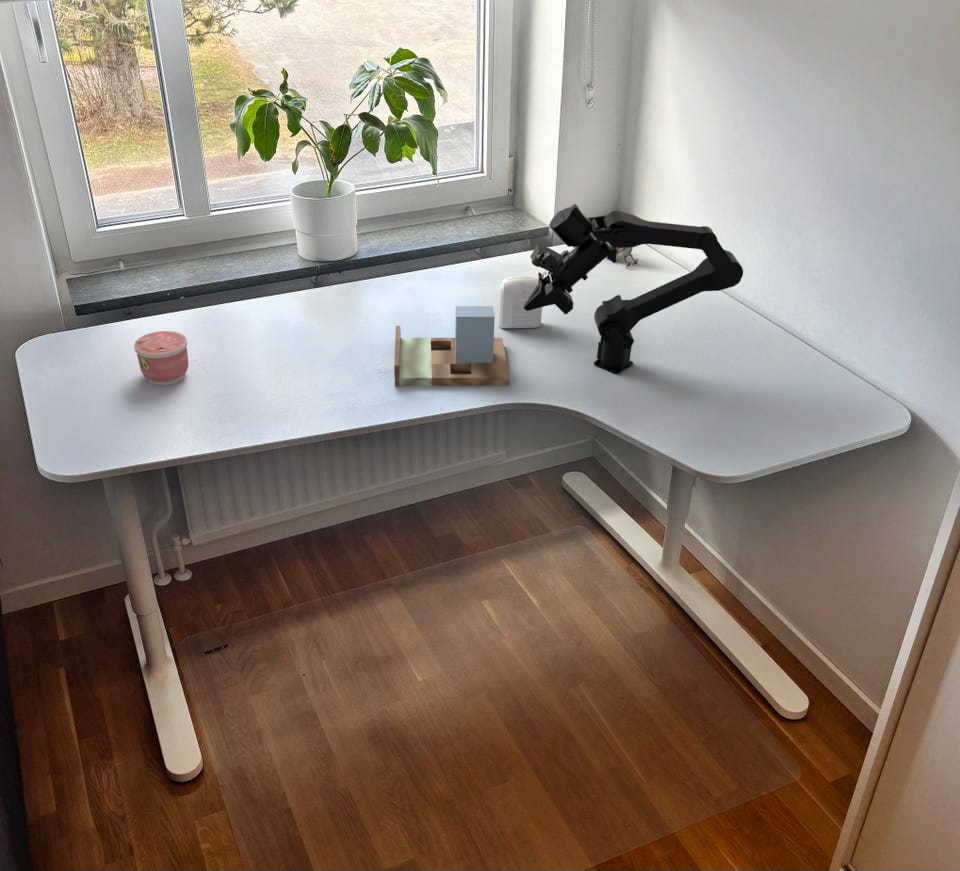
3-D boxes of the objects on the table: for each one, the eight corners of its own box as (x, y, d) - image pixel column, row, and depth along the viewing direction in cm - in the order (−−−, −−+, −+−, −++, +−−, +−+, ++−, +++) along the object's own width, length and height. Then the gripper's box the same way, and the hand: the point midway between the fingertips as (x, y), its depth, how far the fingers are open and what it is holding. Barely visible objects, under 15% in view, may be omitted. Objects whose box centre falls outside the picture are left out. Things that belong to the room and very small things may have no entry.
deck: (502, 345, 216) (503, 325, 213) (508, 385, 201) (509, 365, 199) (396, 345, 215) (395, 325, 212) (394, 386, 200) (394, 365, 197)
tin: (491, 351, 210) (493, 306, 203) (492, 362, 205) (494, 316, 199) (454, 351, 209) (455, 306, 203) (455, 362, 205) (456, 316, 199)
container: (138, 367, 203) (132, 334, 199) (189, 360, 206) (183, 327, 202) (142, 392, 195) (135, 357, 191) (194, 384, 198) (189, 350, 194)
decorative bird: (596, 248, 266) (599, 222, 262) (640, 267, 256) (644, 241, 252) (583, 252, 263) (586, 227, 259) (627, 272, 253) (630, 245, 249)
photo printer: (539, 320, 227) (542, 272, 221) (542, 328, 224) (546, 280, 217) (496, 322, 226) (498, 273, 219) (499, 330, 223) (501, 281, 216)
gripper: (550, 217, 200) (496, 265, 206) (561, 252, 185) (502, 303, 190) (584, 252, 205) (530, 299, 211) (597, 289, 190) (539, 338, 195)
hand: (525, 308), depth 202 cm, fingers closed
